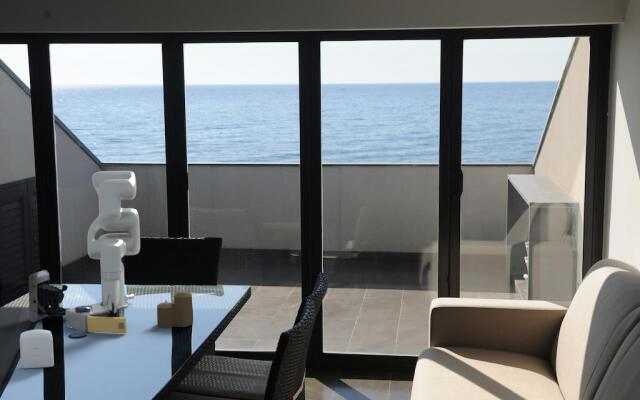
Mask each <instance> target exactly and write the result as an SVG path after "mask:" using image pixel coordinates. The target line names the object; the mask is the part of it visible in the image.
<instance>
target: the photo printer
mask: <svg viewBox="0 0 640 400" xmlns="http://www.w3.org/2000/svg"><path fill="white" fill-rule="evenodd" d="M53 341H54V340H53V335H52V332H51V331H50V330H48V329H47V330H46V329H31V330H30V329H29V330H26V331H24V332H21V333H20V337H19V350H20V367H21V369H22V370H23V369H36V368H38V369H40V368H50V367H51V368H52V367H54V365H55V361H54V359H55V358H54V357H55V356H54V342H53Z"/></svg>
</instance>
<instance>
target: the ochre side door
mask: <svg viewBox="0 0 640 400" xmlns="http://www.w3.org/2000/svg"><path fill="white" fill-rule="evenodd" d="M127 330H128V329H127V317H125V318H118V317H92V316H89V315H85V332H84V333H86V334H87V333H99V334H100V333H104V334H127V333H128V332H127Z"/></svg>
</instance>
